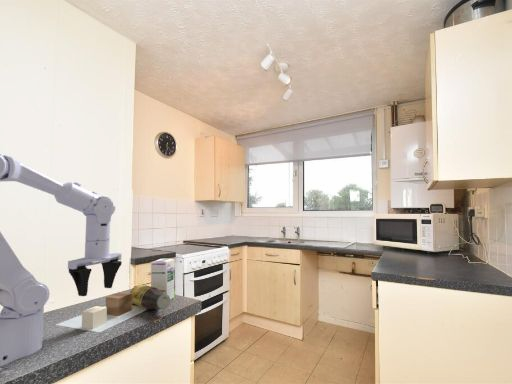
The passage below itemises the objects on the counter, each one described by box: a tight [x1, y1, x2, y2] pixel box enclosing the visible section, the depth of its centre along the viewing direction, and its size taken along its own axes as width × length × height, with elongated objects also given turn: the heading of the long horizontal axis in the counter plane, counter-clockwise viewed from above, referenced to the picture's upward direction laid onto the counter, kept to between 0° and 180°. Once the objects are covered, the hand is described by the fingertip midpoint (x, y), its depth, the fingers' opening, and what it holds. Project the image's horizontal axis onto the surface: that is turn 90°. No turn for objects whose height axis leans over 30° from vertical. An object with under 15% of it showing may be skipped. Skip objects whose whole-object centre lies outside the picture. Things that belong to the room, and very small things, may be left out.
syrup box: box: [150, 257, 176, 303], centre depth 89 cm, size 6×6×14 cm
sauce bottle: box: [129, 284, 171, 310], centre depth 83 cm, size 7×6×20 cm
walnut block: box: [105, 291, 133, 316], centre depth 79 cm, size 5×5×5 cm
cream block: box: [81, 305, 107, 329], centre depth 70 cm, size 4×4×4 cm
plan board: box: [55, 304, 149, 333], centre depth 76 cm, size 18×16×1 cm
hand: (96, 291), depth 71 cm, fingers open, 7 cm apart
